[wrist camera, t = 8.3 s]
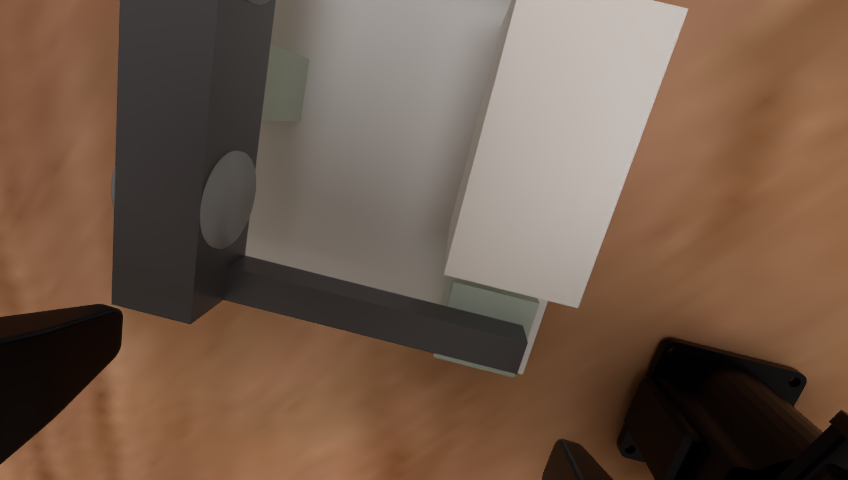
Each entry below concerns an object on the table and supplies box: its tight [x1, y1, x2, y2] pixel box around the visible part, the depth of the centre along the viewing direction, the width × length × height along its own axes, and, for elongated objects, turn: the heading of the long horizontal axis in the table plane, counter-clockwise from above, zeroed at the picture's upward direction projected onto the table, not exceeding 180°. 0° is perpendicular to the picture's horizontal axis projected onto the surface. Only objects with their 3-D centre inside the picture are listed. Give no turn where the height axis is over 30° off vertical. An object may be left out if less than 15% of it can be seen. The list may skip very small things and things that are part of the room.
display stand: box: [245, 0, 688, 378], centre depth 15 cm, size 16×20×7 cm
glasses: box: [111, 0, 528, 374], centre depth 12 cm, size 12×14×3 cm
